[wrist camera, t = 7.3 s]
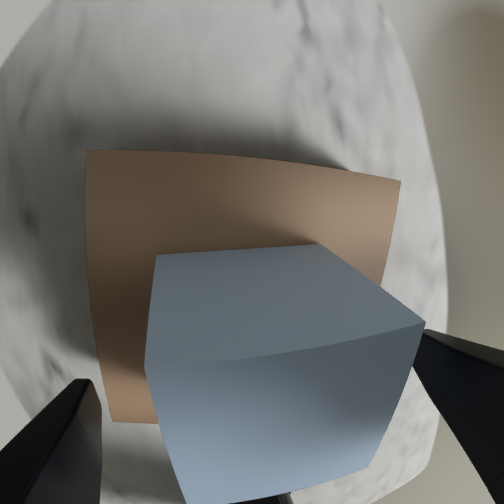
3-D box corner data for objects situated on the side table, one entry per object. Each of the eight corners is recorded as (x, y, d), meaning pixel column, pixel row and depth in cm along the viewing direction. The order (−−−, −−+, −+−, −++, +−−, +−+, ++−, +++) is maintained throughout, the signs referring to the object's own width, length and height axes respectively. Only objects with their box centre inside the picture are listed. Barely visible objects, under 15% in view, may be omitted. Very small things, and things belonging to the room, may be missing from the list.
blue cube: (307, 368, 11) (368, 467, 7) (175, 386, 10) (188, 507, 6) (320, 243, 10) (426, 321, 5) (156, 254, 9) (144, 367, 4)
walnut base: (310, 358, 17) (342, 406, 13) (121, 363, 14) (112, 421, 10) (345, 170, 14) (401, 180, 10) (114, 150, 11) (86, 149, 7)
